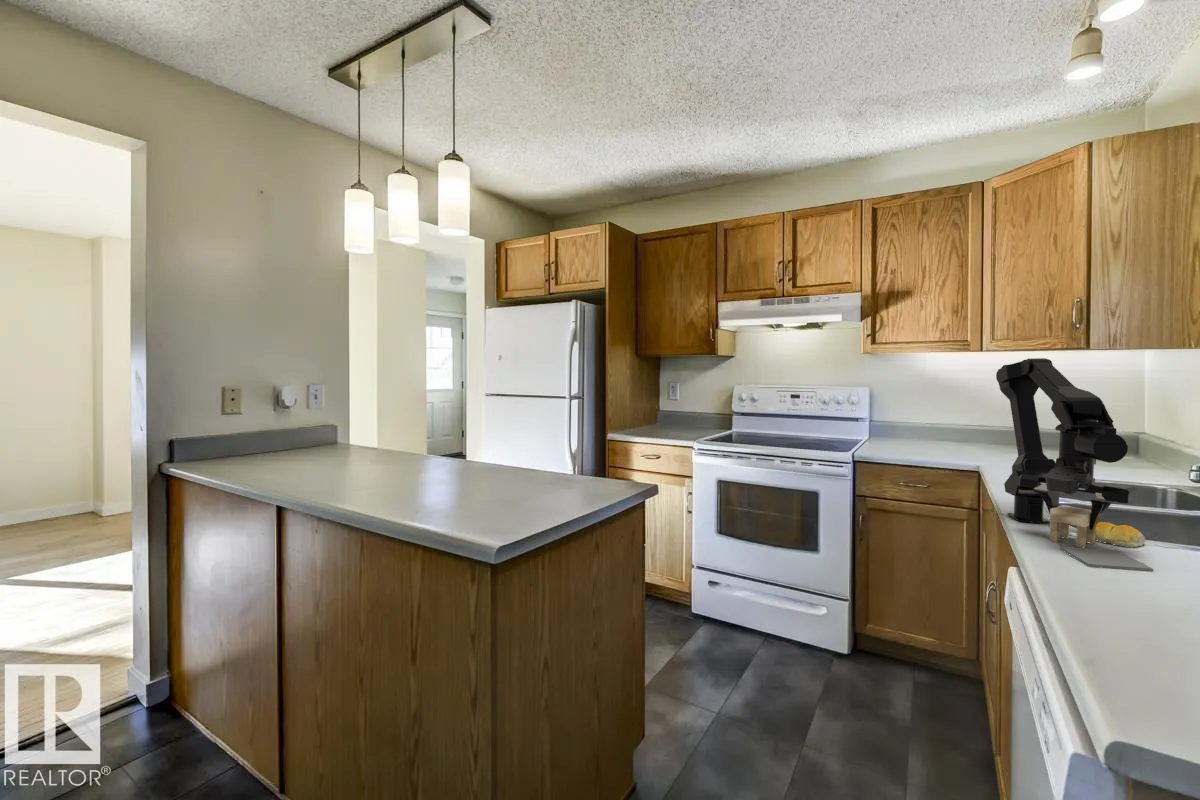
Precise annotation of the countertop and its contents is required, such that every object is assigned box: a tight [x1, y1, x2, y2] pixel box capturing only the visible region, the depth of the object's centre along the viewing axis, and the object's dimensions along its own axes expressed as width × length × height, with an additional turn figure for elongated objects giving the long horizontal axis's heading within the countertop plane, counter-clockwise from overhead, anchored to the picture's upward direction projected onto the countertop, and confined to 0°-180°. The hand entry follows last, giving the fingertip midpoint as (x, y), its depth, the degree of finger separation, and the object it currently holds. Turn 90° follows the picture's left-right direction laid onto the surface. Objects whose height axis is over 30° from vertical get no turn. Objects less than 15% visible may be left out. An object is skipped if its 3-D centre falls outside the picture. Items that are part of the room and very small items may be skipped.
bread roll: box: [1095, 521, 1146, 548], centre depth 118 cm, size 8×9×4 cm
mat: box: [1059, 546, 1154, 572], centre depth 107 cm, size 10×10×1 cm
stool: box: [1049, 504, 1096, 548], centre depth 117 cm, size 6×6×7 cm
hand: (1072, 525), depth 118 cm, fingers closed on stool, 6 cm apart
